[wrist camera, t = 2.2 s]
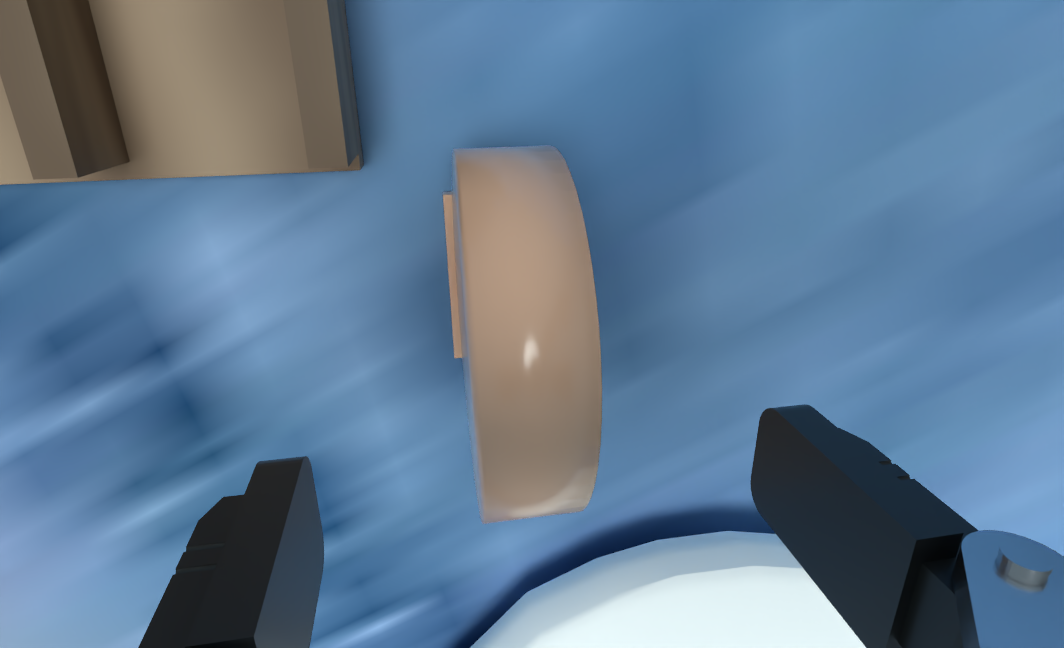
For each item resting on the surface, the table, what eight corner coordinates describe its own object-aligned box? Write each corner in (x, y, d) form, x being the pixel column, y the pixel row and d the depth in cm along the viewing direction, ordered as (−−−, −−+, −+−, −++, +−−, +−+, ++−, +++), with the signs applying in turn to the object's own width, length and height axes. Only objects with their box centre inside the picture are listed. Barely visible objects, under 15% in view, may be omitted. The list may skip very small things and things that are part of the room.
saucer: (528, 127, 21) (622, 176, 11) (533, 390, 25) (606, 598, 15) (437, 130, 20) (454, 183, 11) (456, 398, 24) (481, 617, 14)
